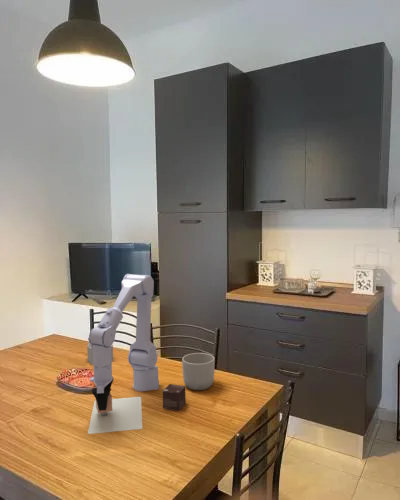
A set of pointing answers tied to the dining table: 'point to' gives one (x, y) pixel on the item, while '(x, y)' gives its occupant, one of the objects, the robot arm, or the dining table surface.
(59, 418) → the dining table surface
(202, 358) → the planter
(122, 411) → the board
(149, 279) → the robot arm
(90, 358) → the lumpy-topped squat cylinder
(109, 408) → the peach colored cube
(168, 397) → the box
